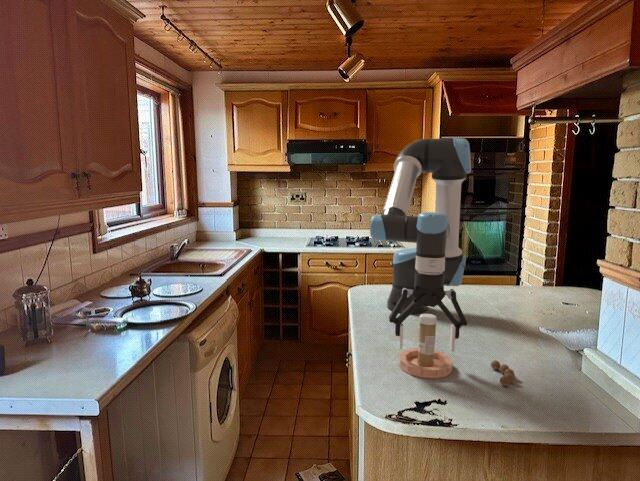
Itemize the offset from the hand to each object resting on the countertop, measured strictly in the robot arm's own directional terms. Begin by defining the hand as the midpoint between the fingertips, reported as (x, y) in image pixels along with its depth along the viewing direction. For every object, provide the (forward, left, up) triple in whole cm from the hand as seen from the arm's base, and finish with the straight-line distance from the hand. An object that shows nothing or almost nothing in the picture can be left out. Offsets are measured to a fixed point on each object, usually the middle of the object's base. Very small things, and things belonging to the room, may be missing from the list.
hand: (426, 348), depth 115 cm
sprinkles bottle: (0, 0, -4) cm, 5 cm away
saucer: (0, 0, -5) cm, 5 cm away
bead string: (+4, +19, -5) cm, 20 cm away
